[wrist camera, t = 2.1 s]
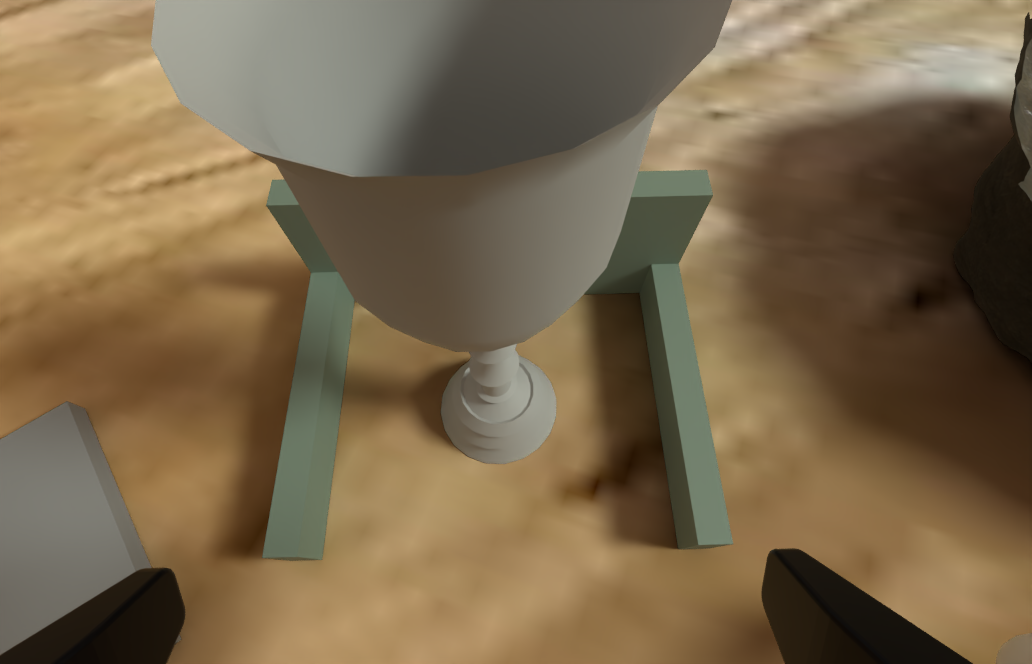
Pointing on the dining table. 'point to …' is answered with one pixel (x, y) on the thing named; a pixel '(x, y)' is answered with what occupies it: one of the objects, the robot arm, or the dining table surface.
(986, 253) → the stone bowl
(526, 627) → the dining table surface
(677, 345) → the u-shaped frame
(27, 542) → the rubber mat
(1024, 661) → the mug
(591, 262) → the chalice
